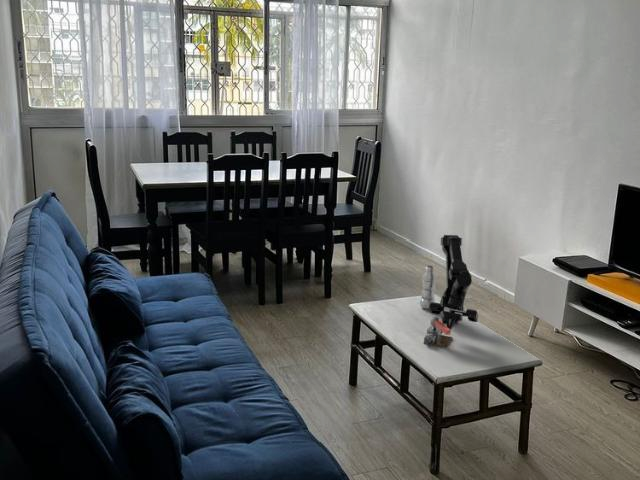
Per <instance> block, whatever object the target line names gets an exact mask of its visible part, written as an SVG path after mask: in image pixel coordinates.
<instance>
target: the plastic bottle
mask: <svg viewBox="0 0 640 480" xmlns="http://www.w3.org/2000/svg"><path fill="white" fill-rule="evenodd" d="M421 278H422V279H421V282H422V292H421V298H420V303H419V304H420V305H419V306H420V307H421V309H426V310H430V309H429V305H430V303H431V302H435V289H436V283H437V275H436V273H435V266H434V265H429V264H428V265H426V266H425V272H424V273H423V275H422V277H421ZM435 303H436V302H435Z"/></svg>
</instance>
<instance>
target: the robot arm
mask: <svg viewBox="0 0 640 480" xmlns="http://www.w3.org/2000/svg"><path fill="white" fill-rule="evenodd" d="M462 245H463V238H462V237H460V236H459V235H458V234H444V235H443V236H441V238H440V246H441V247H442V248H441V250H442V252H443V253H444V254H445V265H446V267H445V268H446V269H445V272H446V288H445V289H444V291H443V292H442V296H441V299H440V301H439V302H431V303H430V305H429V309H428V310H429V312H430V313H431V314H433V315H438V316H439V315H441V314H442V315H443V316H441V322H442V323H443V324H444V325H446V326H447V327H448V328H449V329H450V330H451V331H452V329H453V328H454V327H455V325H458V324H459V322H460V321H461V322H462V321H463V317H466V318H467V320H468V322H473V323H478V319H479V314H478V311H477V310H475V309H472V308H467V309H466V311H465V309H464V305H465V300H466V299H465V298H466V296H467V291H468V290H469V288H470V286H471V285H472V282H473V280H472V274H471V272H470V270H468V266H467V264H466V263H465V262H464V261H463V256H462V255H463V254H462V248H461V247H462Z"/></svg>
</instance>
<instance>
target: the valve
mask: <svg viewBox="0 0 640 480" xmlns="http://www.w3.org/2000/svg"><path fill="white" fill-rule="evenodd" d="M452 340H453V336H449V335H445V334H444V335H443V332H442V331H441V330H439V329H438V328H437V327H436V326H433V325H430V326H429V327H428V328H427V330H426V335H425V336H424V338H423V344H424V345H426V346H427V345H428V346H432V347H437V348H443V349H447V347H448V346H449V345H450V343H451V342H452Z"/></svg>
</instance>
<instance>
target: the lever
mask: <svg viewBox="0 0 640 480" xmlns="http://www.w3.org/2000/svg"><path fill="white" fill-rule="evenodd" d="M432 325H433V326H436V327H437V328H438V329H439V330H441V331H442V334H444V335H445V336H449V335H451V331H452V329H451V330H450V329H449V328H448V327H447V325H446V324H444V323H442V321H440V318H439V317H436V316H433V317H432V316H431V318H430V326H432Z"/></svg>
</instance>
